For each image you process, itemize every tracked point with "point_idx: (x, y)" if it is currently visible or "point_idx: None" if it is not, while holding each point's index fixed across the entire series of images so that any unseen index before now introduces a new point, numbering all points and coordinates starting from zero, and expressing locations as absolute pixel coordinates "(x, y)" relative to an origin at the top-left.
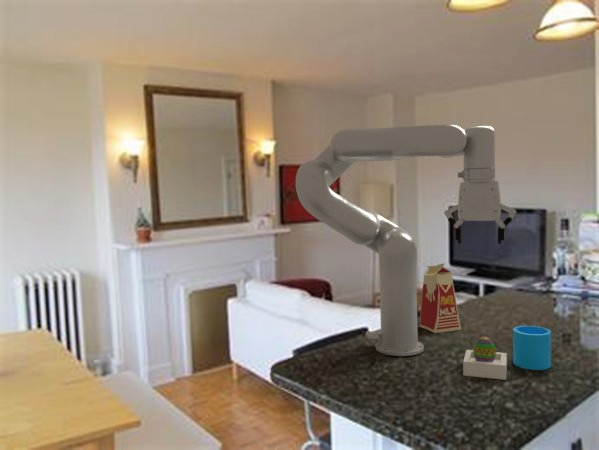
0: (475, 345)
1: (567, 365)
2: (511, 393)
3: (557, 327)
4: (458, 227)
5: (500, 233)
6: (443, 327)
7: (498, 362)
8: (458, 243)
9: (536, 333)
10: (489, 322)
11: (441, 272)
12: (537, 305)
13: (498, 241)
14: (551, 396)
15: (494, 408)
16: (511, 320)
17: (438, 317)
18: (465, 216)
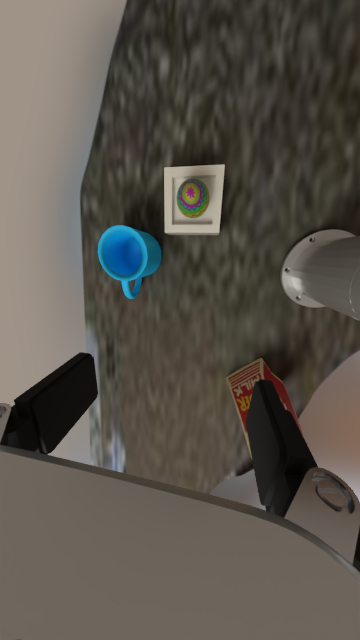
0: (205, 187)
1: None
2: (162, 119)
3: (119, 396)
4: (300, 480)
5: (44, 380)
6: (249, 367)
7: (176, 208)
8: (267, 381)
9: (121, 273)
10: (190, 408)
11: None
12: (140, 470)
13: (84, 359)
14: (117, 129)
15: (182, 35)
16: (165, 417)
17: (260, 372)
18: (276, 596)
